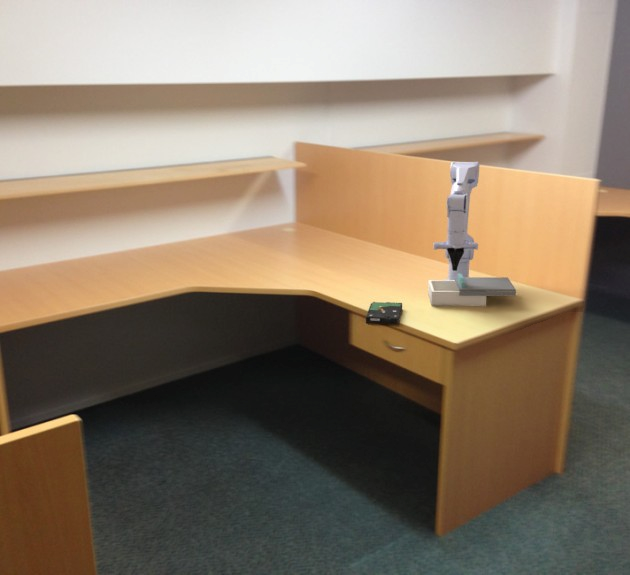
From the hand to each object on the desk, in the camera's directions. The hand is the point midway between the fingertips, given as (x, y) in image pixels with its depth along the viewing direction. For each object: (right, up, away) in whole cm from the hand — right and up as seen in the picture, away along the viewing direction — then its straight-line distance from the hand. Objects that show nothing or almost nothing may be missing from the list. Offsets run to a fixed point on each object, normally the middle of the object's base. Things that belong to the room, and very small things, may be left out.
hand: (454, 269), depth 233 cm
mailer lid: (+10, -6, 0) cm, 12 cm away
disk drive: (-25, -16, -11) cm, 31 cm away
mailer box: (+1, -10, +2) cm, 10 cm away
